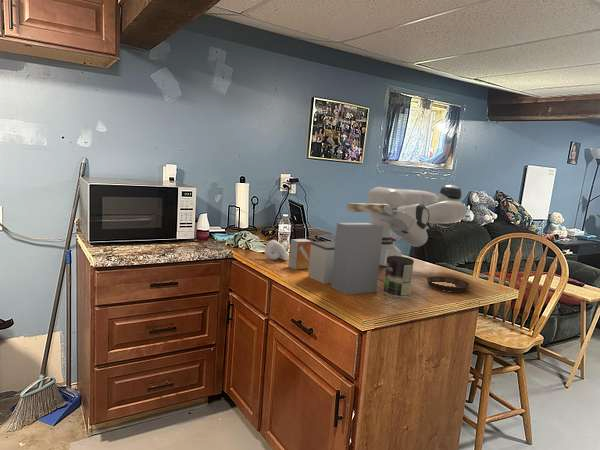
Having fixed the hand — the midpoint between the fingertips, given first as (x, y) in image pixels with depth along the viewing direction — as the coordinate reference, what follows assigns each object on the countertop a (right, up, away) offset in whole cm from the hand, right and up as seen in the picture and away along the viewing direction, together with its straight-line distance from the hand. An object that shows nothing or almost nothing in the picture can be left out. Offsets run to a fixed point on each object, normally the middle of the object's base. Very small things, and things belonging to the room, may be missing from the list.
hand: (379, 206), depth 171 cm
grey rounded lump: (-43, -25, +40) cm, 64 cm away
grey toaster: (-18, -30, +11) cm, 37 cm away
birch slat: (-5, -2, -2) cm, 6 cm away
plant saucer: (+31, -35, +11) cm, 48 cm away
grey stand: (-11, -33, -3) cm, 35 cm away
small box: (-32, -27, +25) cm, 49 cm away
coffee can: (+6, -35, -5) cm, 36 cm away
